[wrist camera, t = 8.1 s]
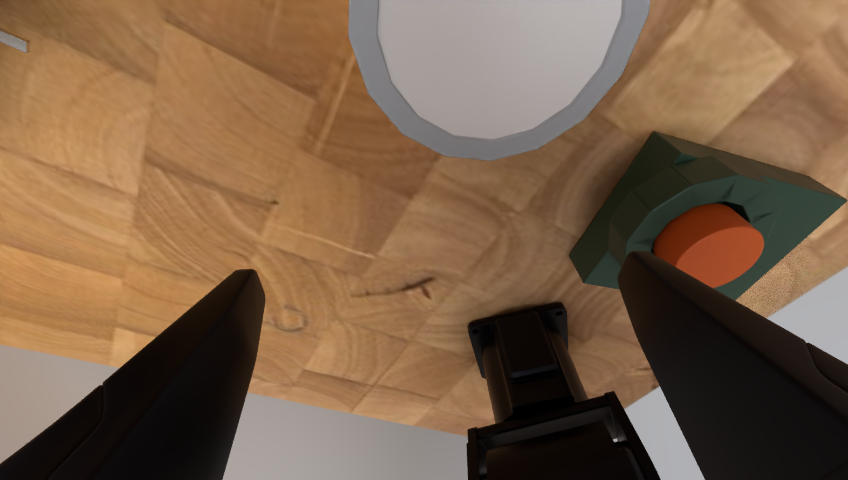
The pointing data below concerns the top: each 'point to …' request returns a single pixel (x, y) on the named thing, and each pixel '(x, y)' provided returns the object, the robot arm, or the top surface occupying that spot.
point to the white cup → (491, 67)
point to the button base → (693, 186)
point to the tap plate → (14, 41)
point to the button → (710, 244)
